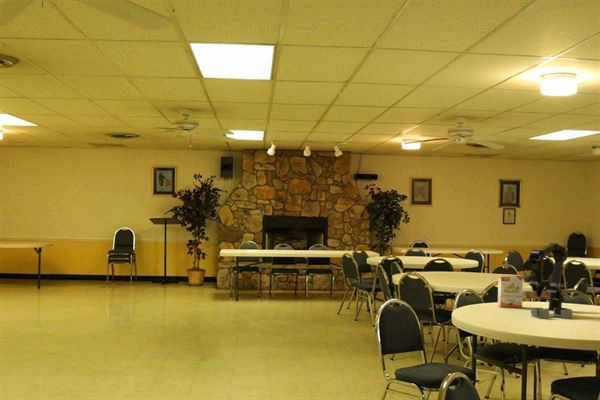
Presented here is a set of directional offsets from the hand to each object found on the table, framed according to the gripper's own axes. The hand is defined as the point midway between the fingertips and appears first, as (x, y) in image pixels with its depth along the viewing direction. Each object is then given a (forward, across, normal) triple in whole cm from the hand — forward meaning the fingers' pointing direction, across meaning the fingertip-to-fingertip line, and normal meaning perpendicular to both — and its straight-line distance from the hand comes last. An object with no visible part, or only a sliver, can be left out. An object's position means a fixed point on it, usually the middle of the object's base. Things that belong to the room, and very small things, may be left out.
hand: (536, 296), depth 339 cm
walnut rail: (+1, 0, 0) cm, 1 cm away
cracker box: (+10, -21, -6) cm, 24 cm away
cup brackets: (+10, +15, 0) cm, 18 cm away
